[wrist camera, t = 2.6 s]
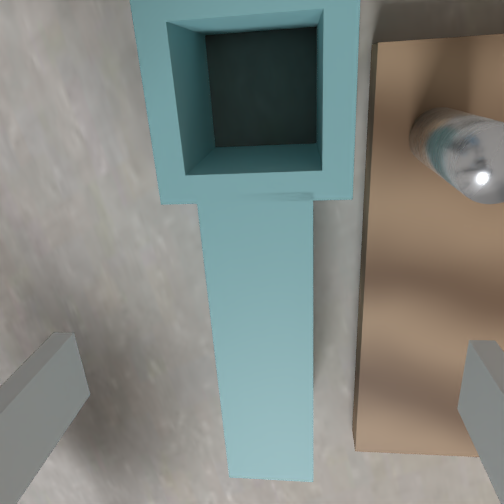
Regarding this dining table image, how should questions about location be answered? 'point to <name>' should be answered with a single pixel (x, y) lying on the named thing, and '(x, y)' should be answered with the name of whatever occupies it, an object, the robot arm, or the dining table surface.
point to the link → (253, 212)
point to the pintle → (462, 151)
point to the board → (424, 251)
